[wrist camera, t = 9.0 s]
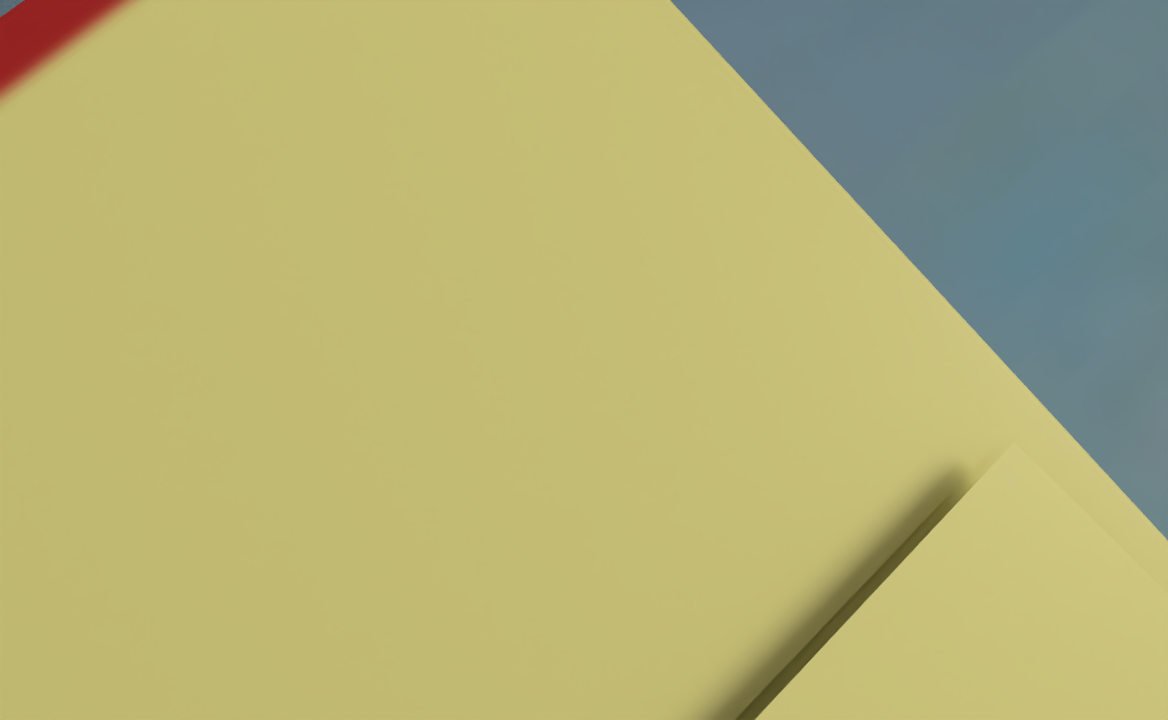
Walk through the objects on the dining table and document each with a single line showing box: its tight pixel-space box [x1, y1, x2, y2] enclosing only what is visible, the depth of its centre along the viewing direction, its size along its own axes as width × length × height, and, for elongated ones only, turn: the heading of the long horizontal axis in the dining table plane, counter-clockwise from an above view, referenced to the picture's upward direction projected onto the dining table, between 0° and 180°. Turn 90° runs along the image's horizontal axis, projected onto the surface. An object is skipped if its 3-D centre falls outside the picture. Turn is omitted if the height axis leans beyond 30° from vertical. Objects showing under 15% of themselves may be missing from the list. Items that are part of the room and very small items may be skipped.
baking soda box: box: [0, 0, 1168, 720], centre depth 12 cm, size 10×6×16 cm
